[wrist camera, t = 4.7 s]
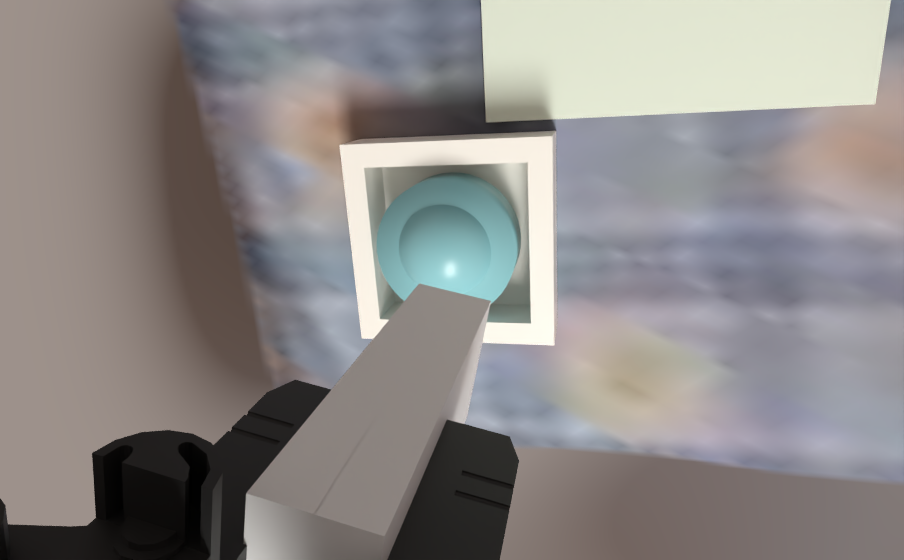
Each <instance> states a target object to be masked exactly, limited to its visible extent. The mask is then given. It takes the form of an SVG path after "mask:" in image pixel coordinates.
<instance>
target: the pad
mask: <svg viewBox="0 0 904 560" xmlns="http://www.w3.org/2000/svg"><path fill="white" fill-rule="evenodd" d="M890 2H891V0H481V13H482V38H483V62H484V86H485V110H486V122H507V121H528V120H549V119H570V118H591V117H612V116H633V115H654V114H676V113H697V112H718V111H739V110H760V109H781V108H802V107H823V106H844V105H865V104H875V102H876V95H877V89H878V82H879V75H880V69H881V62H882V55H883V49H884V42H885V36H886V29H887V22H888V16H889V9H890Z"/></svg>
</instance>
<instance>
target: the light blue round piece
mask: <svg viewBox="0 0 904 560" xmlns="http://www.w3.org/2000/svg"><path fill="white" fill-rule="evenodd" d="M520 249H521V231H520V226H519V221H518V219H517V216H516V213H515V211H514V209H513V207H512V206H511V204H510V203H509V201H508V200H507V198H506V197H505V196H504V195H503V194H502V193H501V192H500V191H499V190H498V189H497V188H496V187H494V186H493V185H492V184H490V183H488V182H487V181H485V180H483V179H481V178H479V177H476V176H473V175H470V174H465V173H458V172H449V173H441V174H437V175H433V176H431V177H428V178H426V179H424V180H422V181H420V182H419V183H417V184H416V185H414V186H412V187H411V188H409V189H407V190H406V191H404V192H403V193H402V194H400V195H399V196H398V197H397V198H396V199H395V200H394V201H393V202H392V203H391V204H390V206H389V207H388V208H387V210H386V212H385V213H384V215H383V217H382V220H381V222H380V225H379V229H378V233H377V255H378V261H379V264H380V267H381V270H382V272H383V275H384V277H385V279H386V280H387V282H388V284H389V285H390V286H391V288H392V289H393V290H394V292H395V293H396V294H397V295H398V296H399V297H400V298H401V299H402V300H404V301H405V300H406V299H407V297H408V296H409V295H410V294H411V293H412V291H413V290H414V289H415V288H416V287H417V285H418V284H423V285H428V286H432V287H436V288H440V289H444V290H448V291H452V292H456V293H460V294H465V295H469V296H473V297H477V298H481V299H485V300H489V301H491V303H493V302H494V301H495V300H496V299H497V298H498V297H499V296H500V295H501V294H502V292H503V291H504V289H505V288H506V286H507V284H508V282H509V280H510V278H511V276H512V273H513V271H514V268H515V266H516V264H517V261H518V258H519V254H520Z"/></svg>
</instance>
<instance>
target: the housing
mask: <svg viewBox="0 0 904 560" xmlns="http://www.w3.org/2000/svg"><path fill="white" fill-rule="evenodd" d="M340 153H341V162H342V171H343V179H344V188H345V197H346V205H347V214H348V223H349V231H350V240H351V249H352V257H353V266H354V275H355V283H356V292H357V301H358V309H359V318H360V327H361V335H362V338H365V339H374V338H375V336H376V335H377V334H378V333H379V331H380V330H381V329H382V328H383V327H384V325H385V324H386V323H387V322H388V321H389V319H390V318H391V317H392V316H393V314H394V313H395V312H396V311H397V310H398V308H399V307H400V306H401V305H402V304H403V302H404V300H402V299H401V298H400V297H399V296H398V295H397V294H396V293H395V292H394V290H393V289H392V288H391V286H390V285H389V284H388V282H387V280H386V279H385V277H384V275H383V272H382V270H381V267H380V264H379V261H378V255H377V233H378V229H379V225H380V222H381V220H382V217H383V215H384V213H385V212H386V210H387V208H388V207H389V206H390V204H391V203H392V202H393V201H394V200H395V199H396V198H397V197H398V196H399V195H400V194H402V193H403V192H404V191H406V190H407V189H409V188H411V187H412V186H414V185H416V184H417V183H419V182H420V181H422V180H424V179H426V178H428V177H431V176H433V175H437V174H441V173H449V172H458V173H465V174H470V175H473V176H476V177H479V178H481V179H483V180H485V181H487V182H488V183H490V184H492V185H493V186H494V187H496V188H497V189H498V190H499V191H500V192H501V193H502V194H503V195H504V196H505V197H506V198H507V200H508V201H509V203H510V204H511V206H512V207H513V209H514V211H515V213H516V216H517V219H518V221H519V226H520V231H521V249H520V254H519V258H518V261H517V264H516V266H515V268H514V271H513V273H512V276H511V278H510V280H509V282H508V284H507V286H506V288H505V289H504V291H503V292H502V294H501V295H500V296H499V297H498V298H497V299H496V300H495V301H494V302H493V303H491V304H490V308H489V313H488V318H487V323H486V328H485V332H484V337H483V342H482V343H504V344H532V345H554V343H555V337H556V330H557V180H556V131H536V132H513V133H490V134H466V135H443V136H420V137H397V138H374V139H359V140H355V141H352V142H348V143H345V144H341V145H340Z"/></svg>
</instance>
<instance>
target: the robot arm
mask: <svg viewBox="0 0 904 560" xmlns="http://www.w3.org/2000/svg"><path fill="white" fill-rule="evenodd" d="M490 304H491V301H489V300H485V299H481V298H477V297H473V296H469V295H465V294H460V293H456V292H452V291H448V290H444V289H440V288H436V287H432V286H428V285H423V284H418V285H417V287H416V288H415V289H414V290H413V291H412V293H411V294H410V295H409V296H408V297H407V299H406V300H405V301H404V302H403V304H402V305H401V306H400V307H399V308H398V310H397V311H396V312H395V313H394V314H393V316H392V317H391V318H390V319H389V321H388V322H387V323H386V324H385V325H384V327H383V328H382V329H381V330H380V331H379V333H378V334H377V335H376V336H375V338H374V339H373V340H372V341H371V342H370V344H369V345H368V346H367V347H366V348H365V350H364V351H363V352H362V353H361V355H360V356H359V357H358V358H357V359H356V361H355V362H354V363H353V364H352V365H351V367H350V368H349V369H348V370H347V372H346V373H345V374H344V375H343V376H342V378H341V379H340V380H339V381H338V382H337V384H336V385H335V386H334V387H333V389H332V390H330V389H327V388H323V387H320V386H316V385H312V384H309V383H305V382H301V381H298V380H294V381H292V382H289V383H287V384H285V385H283V386H280V387H278V388H276V389H274V390H272V391H269V392H267V393H266V394H265V395H264V397H262V398H261V399H260V400H259V401H258V402H257V403H256V404H255V405H254V406H253V407H252V408H251V409H250V410H249V411H248V414H247V415H244V416H243V417H242V418H241V419H240V420H239V421H238V422H237V423H236V424H235V425H234V426H233V427H232V430H231V432H230V431H228V432H227V433H226V434H225V435H224V436H223V437H222V438H221V439H220V440H219V441H218V442H217V443H215V444H214V445H212V443H210V442H208V441H206V440H204V439H202V438H200V437H198V436H196V435H194V434H190V433H184V432H176V431H170V430H165V431H154V432H153V431H152V432H141V433H138V434H134V435H131V436H127V437H124V438H121V439H117V440H115V441H113V442H111V443H109V444H107V445H106V446H104V447H102V448H100V449H99V450H97V451H95V452H93V453H92V458H93V474H94V491H95V506H96V507H95V508H96V518H95V519H94V520H93V521H92V522H91V523H90V524H89V525H87V526H76V527H75V526H73V527H67V526H64V527H63V526H36V525H8V523H7V515H6V508H5V504H4V503H3V502H2V500H1V499H0V560H500V555H501V550H502V544H503V539H504V534H505V529H506V524H507V519H508V514H509V508H510V504H511V499H512V494H513V488H514V483H515V478H516V473H517V468H518V463H519V460H518V457H517V455H516V452H515V449H514V447H513V444H512V442H511V439H510V437H509V436H505V435H502V434H498V433H494V432H491V431H487V430H484V429H480V428H476V427H473V426H469V425H466V424H464V423H465V420H466V418H467V414H468V409H469V405H470V400H471V395H472V390H473V385H474V380H475V376H476V371H477V366H478V361H479V356H480V352H481V347H482V342H483V337H484V332H485V328H486V323H487V318H488V313H489V308H490Z"/></svg>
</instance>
